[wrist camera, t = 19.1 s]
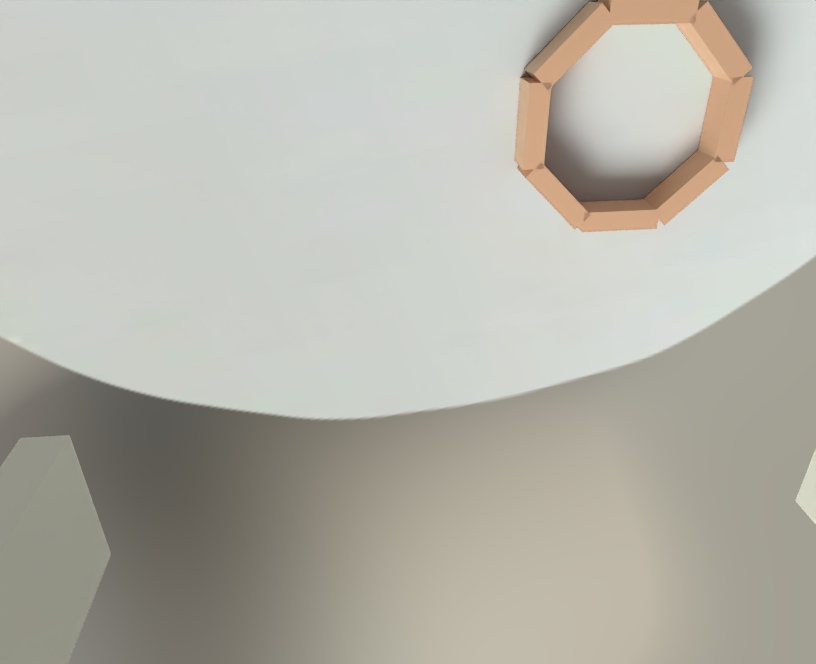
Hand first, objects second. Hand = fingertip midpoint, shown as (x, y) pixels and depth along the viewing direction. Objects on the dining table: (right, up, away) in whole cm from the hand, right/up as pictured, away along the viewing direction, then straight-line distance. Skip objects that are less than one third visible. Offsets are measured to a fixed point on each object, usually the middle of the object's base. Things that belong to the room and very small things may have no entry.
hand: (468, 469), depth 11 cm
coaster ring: (+11, +15, +26) cm, 32 cm away
